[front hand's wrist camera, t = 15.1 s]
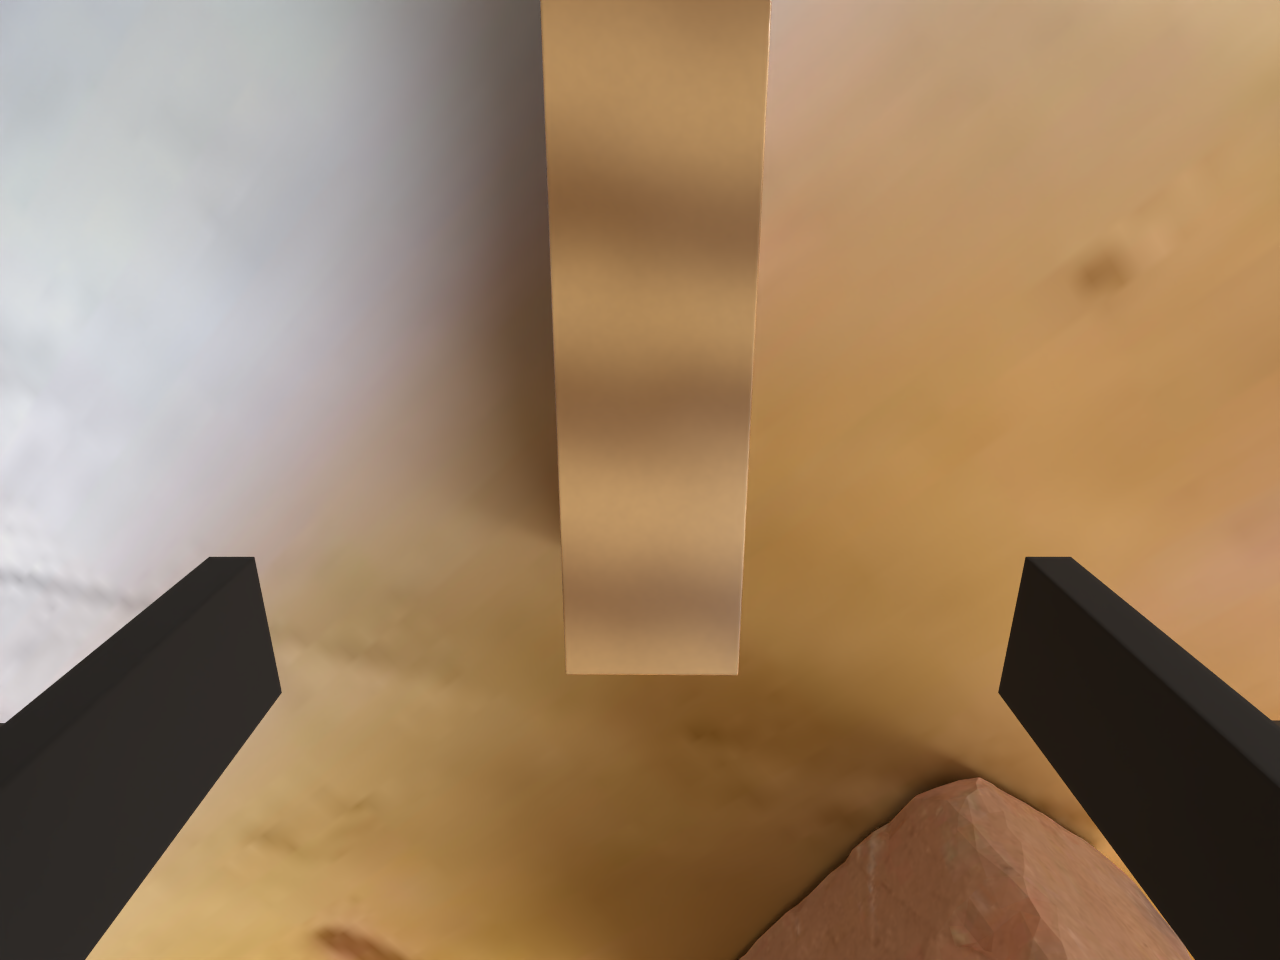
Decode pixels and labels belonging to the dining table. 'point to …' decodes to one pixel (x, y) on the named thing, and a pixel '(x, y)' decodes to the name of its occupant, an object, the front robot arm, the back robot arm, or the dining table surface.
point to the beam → (654, 320)
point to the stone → (972, 892)
